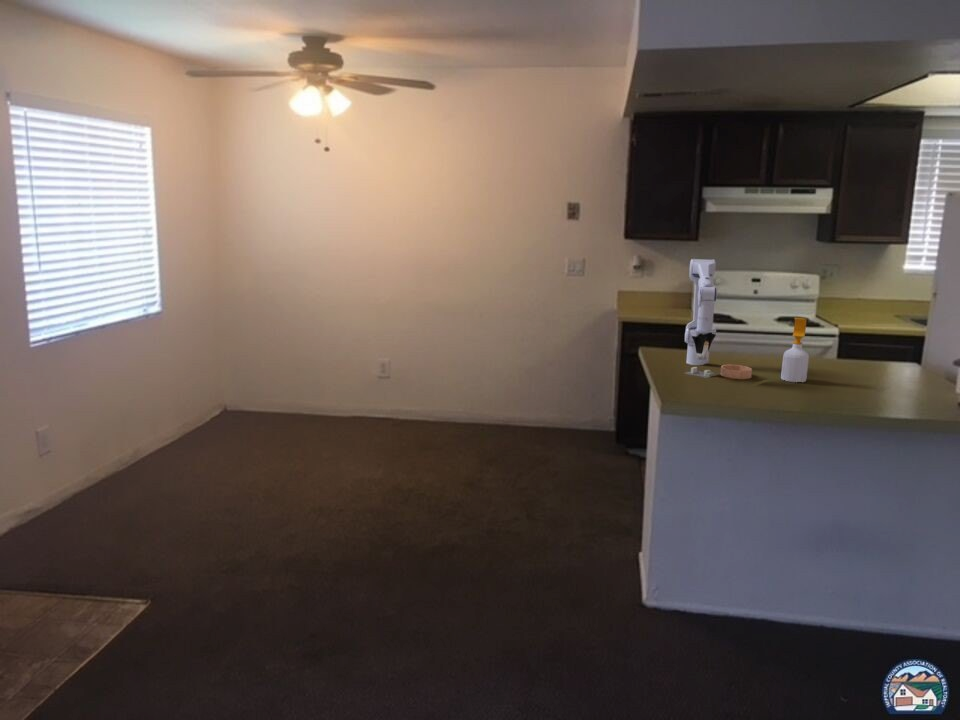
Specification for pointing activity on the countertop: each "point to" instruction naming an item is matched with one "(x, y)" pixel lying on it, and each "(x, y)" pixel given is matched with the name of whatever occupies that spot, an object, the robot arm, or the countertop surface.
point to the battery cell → (704, 352)
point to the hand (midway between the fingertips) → (702, 352)
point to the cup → (736, 371)
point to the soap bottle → (796, 356)
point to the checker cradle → (701, 373)
